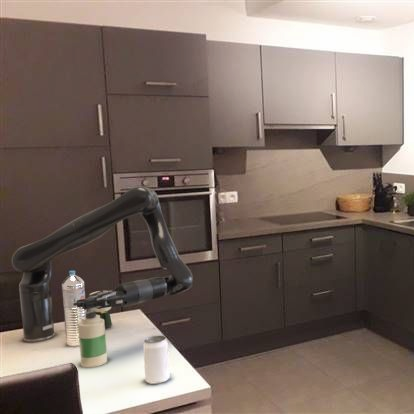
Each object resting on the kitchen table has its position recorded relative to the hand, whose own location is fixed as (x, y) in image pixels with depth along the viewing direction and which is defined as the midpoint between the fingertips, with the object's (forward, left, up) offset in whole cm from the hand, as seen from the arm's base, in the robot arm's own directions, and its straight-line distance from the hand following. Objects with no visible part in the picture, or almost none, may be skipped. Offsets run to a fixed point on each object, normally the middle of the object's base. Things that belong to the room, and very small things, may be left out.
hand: (80, 305), depth 164 cm
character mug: (-36, +9, -19) cm, 42 cm away
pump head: (0, +1, -3) cm, 3 cm away
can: (+23, +17, -19) cm, 34 cm away
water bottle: (-23, 0, -19) cm, 30 cm away
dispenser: (-1, +3, -19) cm, 19 cm away
